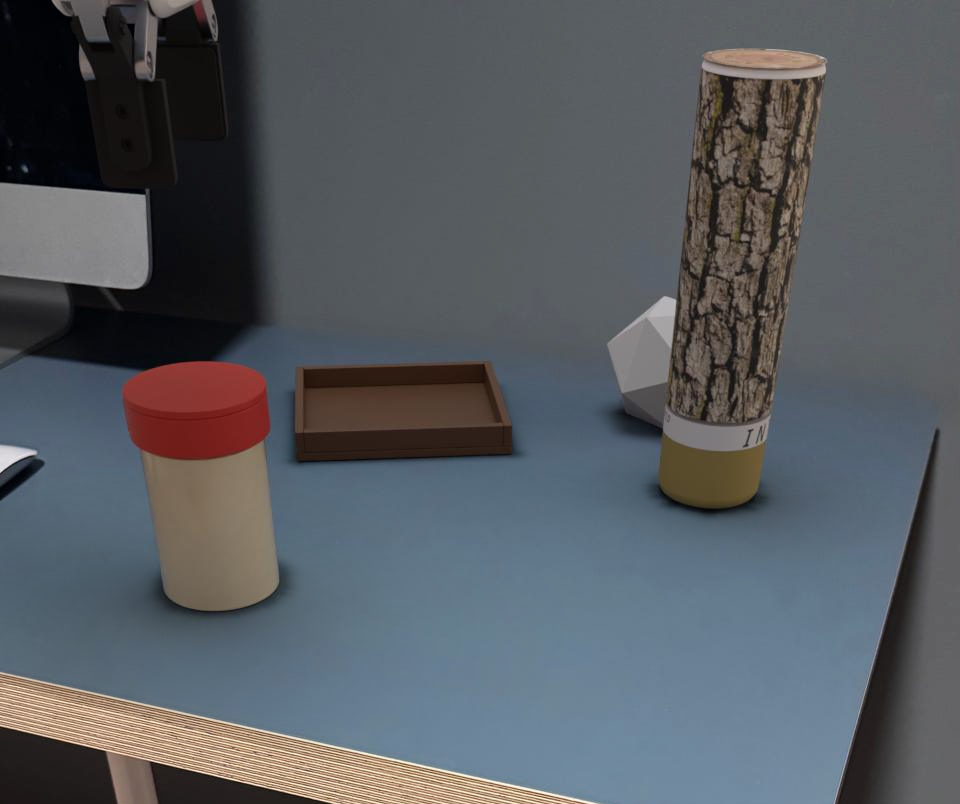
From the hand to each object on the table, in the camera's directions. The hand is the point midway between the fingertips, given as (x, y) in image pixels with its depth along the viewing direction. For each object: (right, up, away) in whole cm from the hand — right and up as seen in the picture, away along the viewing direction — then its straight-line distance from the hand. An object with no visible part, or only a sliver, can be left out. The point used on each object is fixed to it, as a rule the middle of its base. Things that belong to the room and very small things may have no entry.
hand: (170, 161), depth 57 cm
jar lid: (-1, -7, +10) cm, 12 cm away
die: (+28, +1, +37) cm, 47 cm away
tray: (+8, 0, +36) cm, 37 cm away
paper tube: (+30, -7, +27) cm, 41 cm away
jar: (-1, -16, +17) cm, 23 cm away
